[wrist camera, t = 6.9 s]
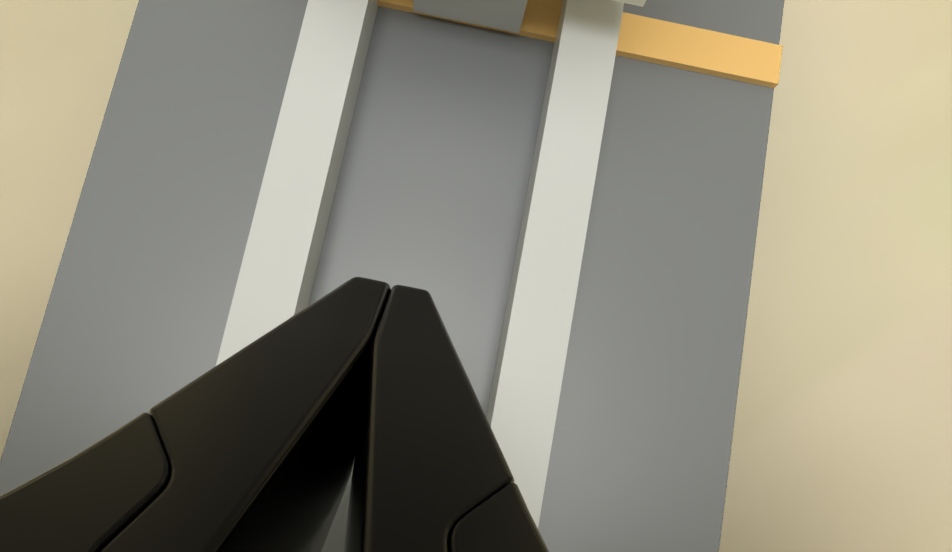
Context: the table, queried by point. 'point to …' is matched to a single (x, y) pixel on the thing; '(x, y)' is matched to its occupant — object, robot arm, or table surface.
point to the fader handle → (484, 11)
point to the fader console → (437, 230)
